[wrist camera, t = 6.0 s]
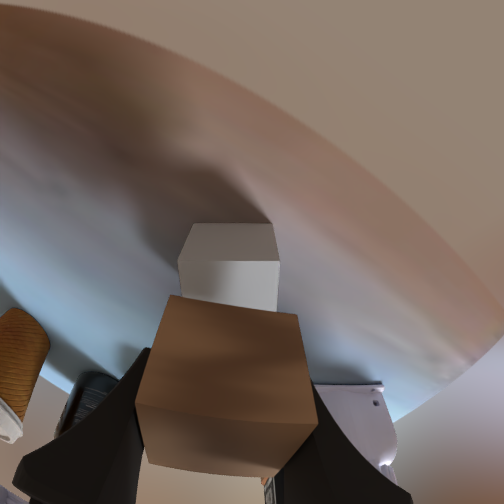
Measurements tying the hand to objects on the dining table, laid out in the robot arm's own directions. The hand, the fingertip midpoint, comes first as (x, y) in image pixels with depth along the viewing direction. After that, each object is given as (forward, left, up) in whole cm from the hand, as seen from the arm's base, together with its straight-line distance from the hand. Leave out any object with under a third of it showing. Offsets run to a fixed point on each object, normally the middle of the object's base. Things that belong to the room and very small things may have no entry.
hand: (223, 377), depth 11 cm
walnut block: (0, 0, -2) cm, 2 cm away
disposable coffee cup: (+21, +13, -10) cm, 26 cm away
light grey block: (0, 0, -10) cm, 10 cm away
